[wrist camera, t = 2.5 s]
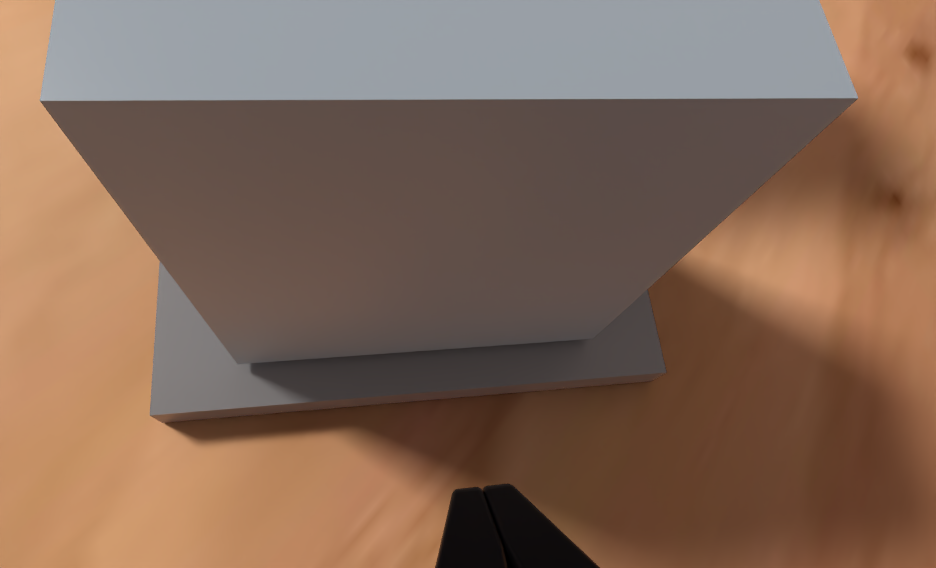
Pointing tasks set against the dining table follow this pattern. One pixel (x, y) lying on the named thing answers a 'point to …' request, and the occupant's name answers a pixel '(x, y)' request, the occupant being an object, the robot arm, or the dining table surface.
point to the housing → (380, 368)
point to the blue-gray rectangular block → (432, 153)
